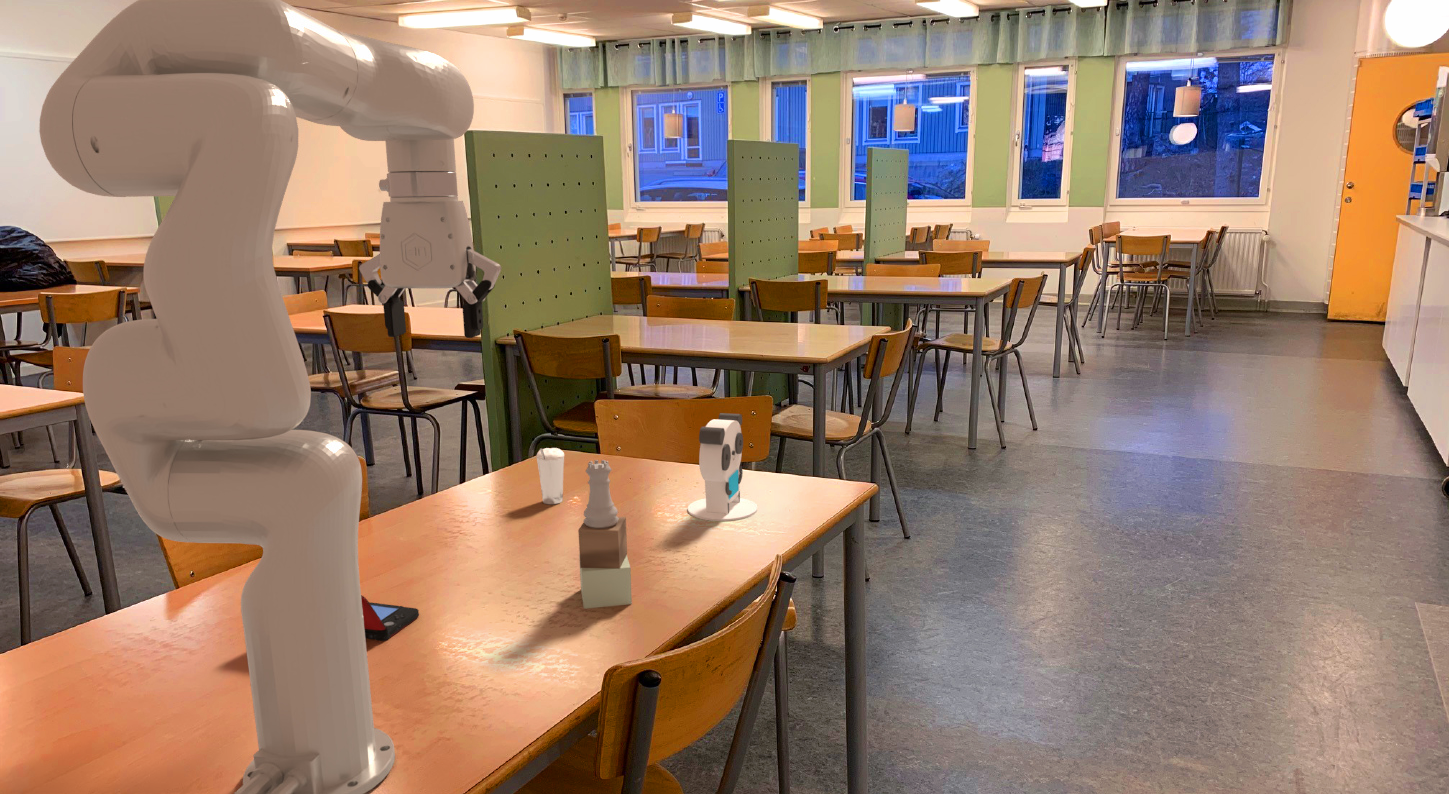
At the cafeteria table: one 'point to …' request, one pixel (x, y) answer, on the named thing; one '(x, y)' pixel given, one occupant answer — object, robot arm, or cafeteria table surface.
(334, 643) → the robot arm
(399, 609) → the handheld game console
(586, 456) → the cafeteria table surface
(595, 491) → the rook chess piece
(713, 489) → the panda figurine
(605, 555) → the top block
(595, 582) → the base block
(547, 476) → the milkshake
